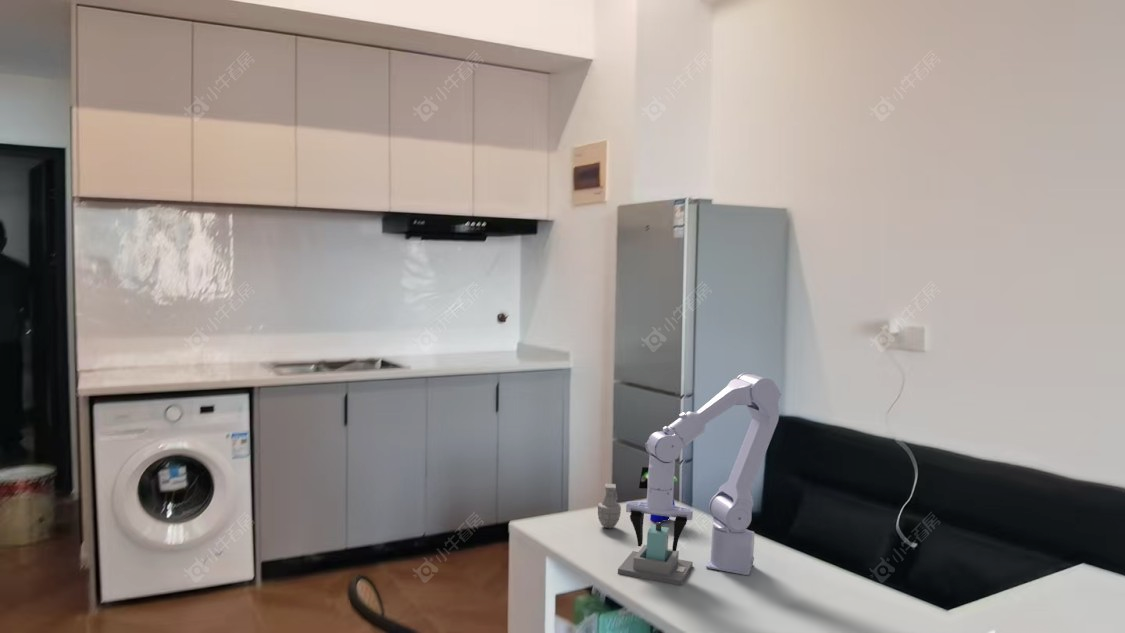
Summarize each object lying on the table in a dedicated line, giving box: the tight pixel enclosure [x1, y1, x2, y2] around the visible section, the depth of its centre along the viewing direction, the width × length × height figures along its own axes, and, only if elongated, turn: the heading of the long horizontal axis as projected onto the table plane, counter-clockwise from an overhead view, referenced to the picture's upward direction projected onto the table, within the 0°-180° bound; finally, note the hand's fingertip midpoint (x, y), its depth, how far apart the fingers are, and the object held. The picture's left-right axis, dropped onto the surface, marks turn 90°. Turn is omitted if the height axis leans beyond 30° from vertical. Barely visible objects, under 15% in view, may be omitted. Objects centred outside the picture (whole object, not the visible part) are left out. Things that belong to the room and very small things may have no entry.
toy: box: [638, 466, 678, 523], centre depth 207 cm, size 9×9×15 cm
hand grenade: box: [597, 483, 622, 529], centre depth 198 cm, size 6×6×11 cm
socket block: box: [617, 544, 694, 586], centre depth 172 cm, size 14×12×4 cm
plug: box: [646, 522, 670, 562], centre depth 172 cm, size 4×5×10 cm
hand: (657, 547), depth 172 cm, fingers open, 7 cm apart
